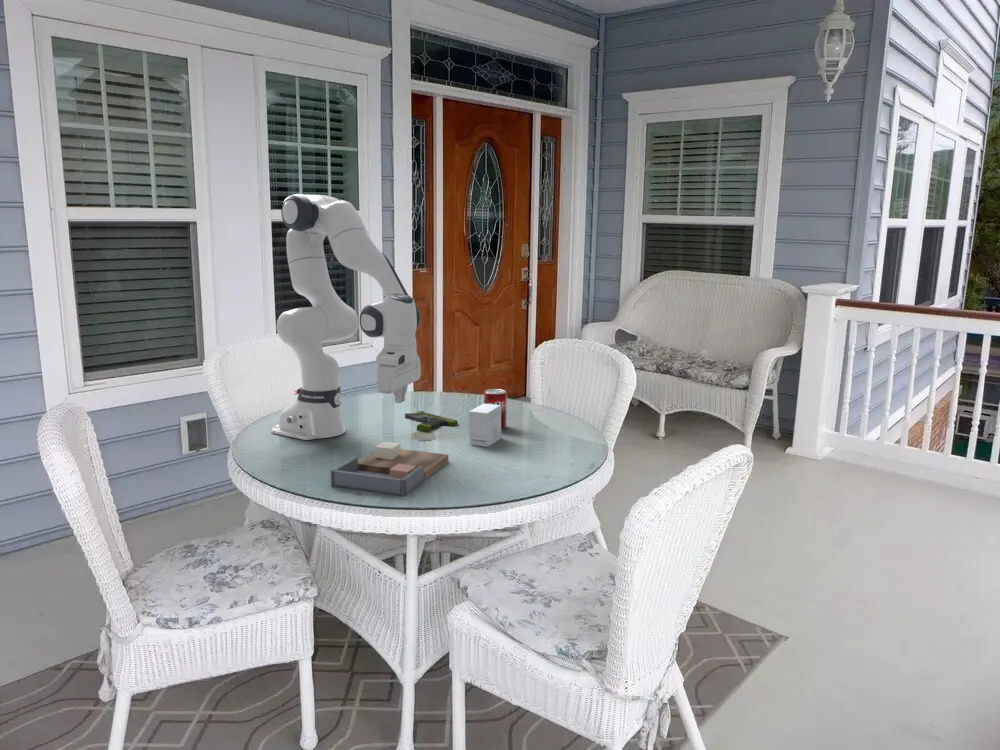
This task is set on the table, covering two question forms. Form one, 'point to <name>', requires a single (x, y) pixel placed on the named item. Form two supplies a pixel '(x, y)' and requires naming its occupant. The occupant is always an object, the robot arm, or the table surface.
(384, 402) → the table surface
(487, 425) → the skincare box
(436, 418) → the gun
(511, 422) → the table surface
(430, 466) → the walnut board
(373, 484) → the bin
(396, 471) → the terracotta tile
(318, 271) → the robot arm
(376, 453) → the cream tile
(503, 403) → the soda can
